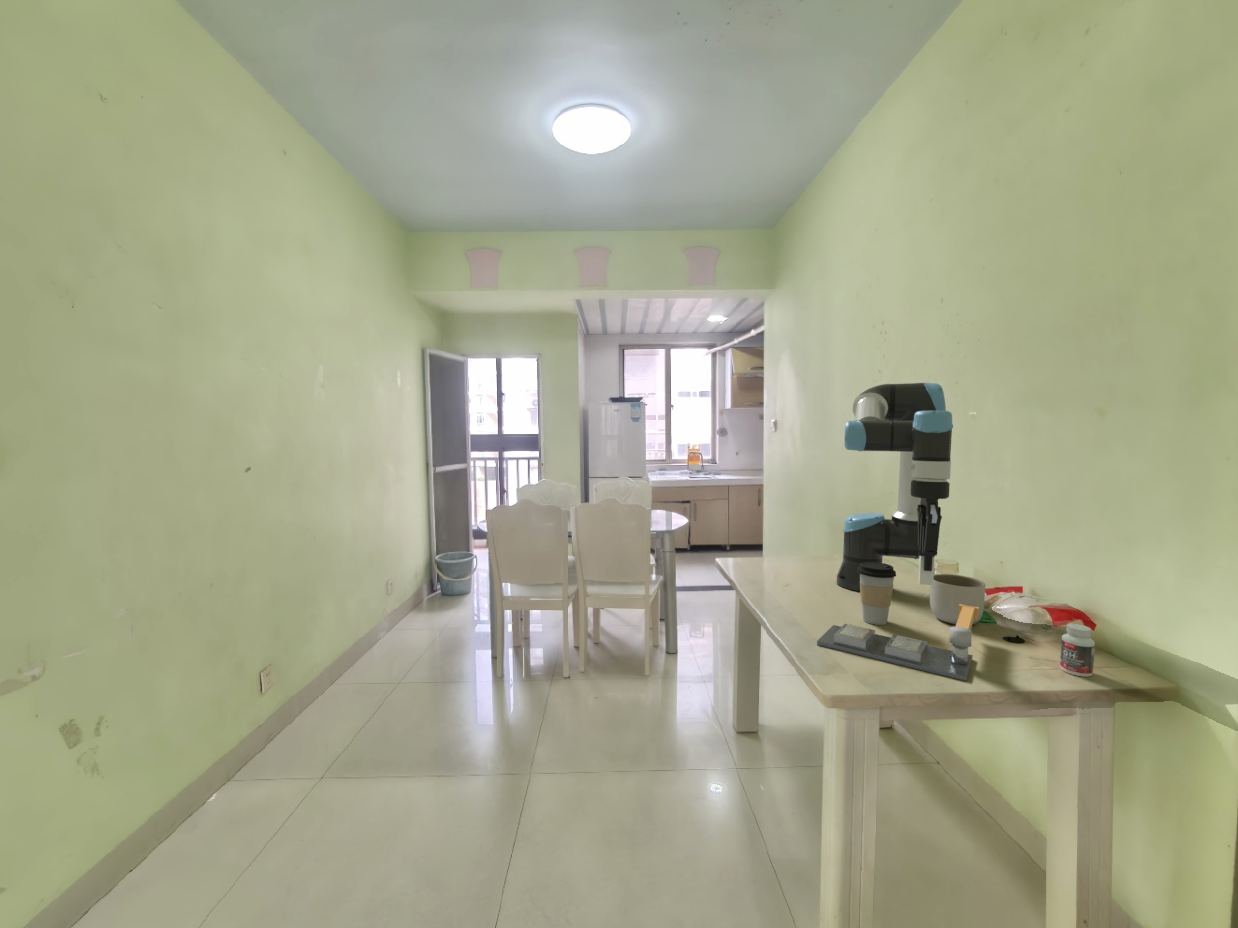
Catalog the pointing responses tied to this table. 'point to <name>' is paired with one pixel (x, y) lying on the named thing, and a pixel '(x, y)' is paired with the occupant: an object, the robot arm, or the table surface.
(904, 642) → the grey switch panel
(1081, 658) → the pill bottle
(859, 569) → the coffee cup
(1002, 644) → the table surface
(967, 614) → the swing arm
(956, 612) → the planter
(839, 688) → the table surface
